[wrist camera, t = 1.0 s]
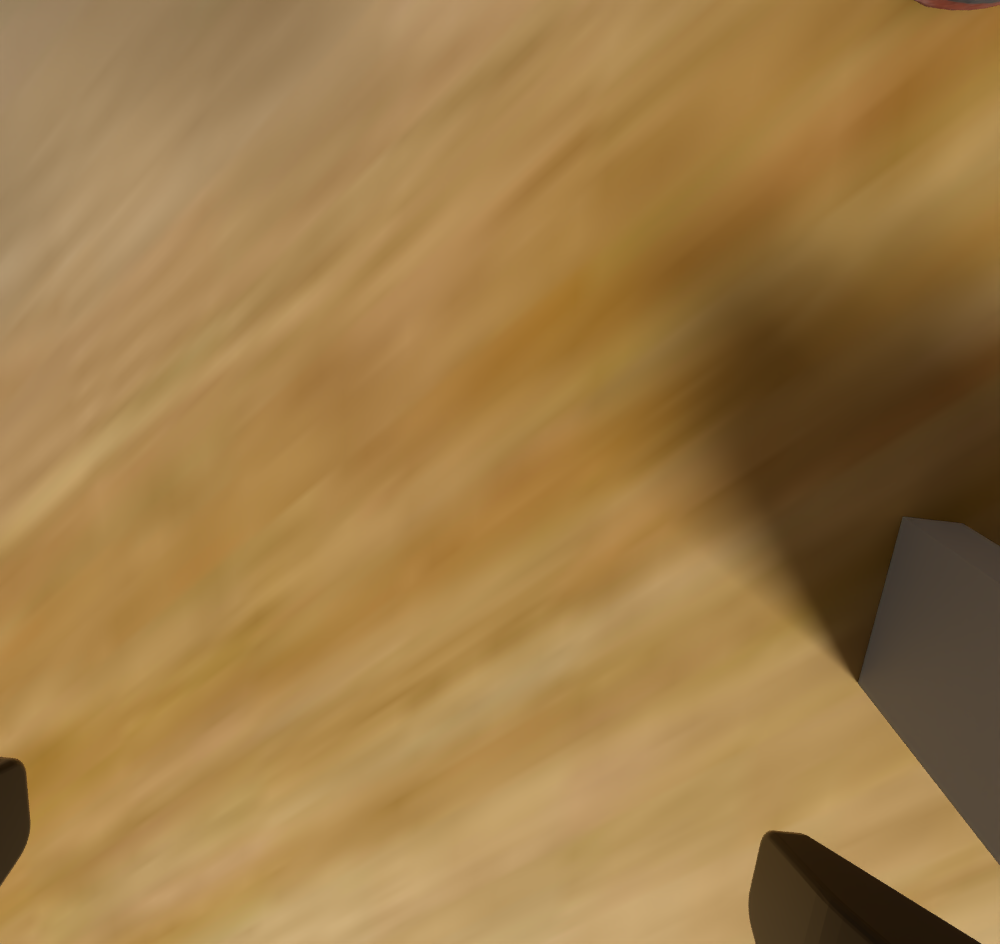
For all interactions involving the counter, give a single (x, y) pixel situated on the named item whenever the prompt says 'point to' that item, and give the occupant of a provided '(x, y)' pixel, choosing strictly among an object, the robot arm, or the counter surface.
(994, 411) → the counter surface
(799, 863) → the robot arm
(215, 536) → the counter surface
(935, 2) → the supplement bottle
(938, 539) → the domino
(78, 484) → the counter surface
